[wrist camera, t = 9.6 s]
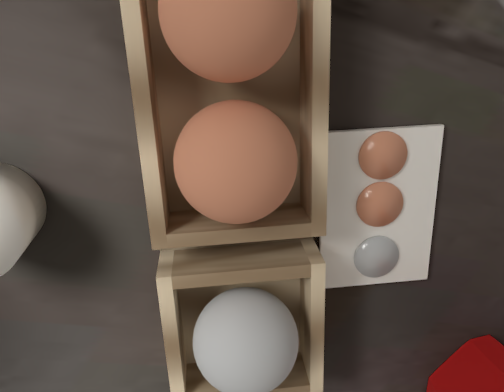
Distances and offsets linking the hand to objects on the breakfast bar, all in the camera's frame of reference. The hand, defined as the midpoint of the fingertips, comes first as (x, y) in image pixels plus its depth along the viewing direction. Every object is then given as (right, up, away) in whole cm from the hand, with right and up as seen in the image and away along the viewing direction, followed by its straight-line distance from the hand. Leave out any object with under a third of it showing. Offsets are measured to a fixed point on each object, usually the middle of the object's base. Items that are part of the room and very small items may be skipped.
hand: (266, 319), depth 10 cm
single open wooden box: (-1, -4, +19) cm, 20 cm away
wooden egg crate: (-2, +9, +14) cm, 17 cm away
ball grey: (-1, -4, +19) cm, 20 cm away
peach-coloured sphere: (-2, +12, +13) cm, 17 cm away
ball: (-1, +5, +15) cm, 16 cm away
